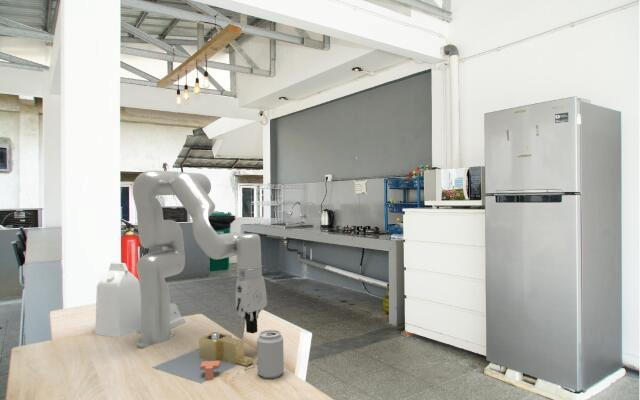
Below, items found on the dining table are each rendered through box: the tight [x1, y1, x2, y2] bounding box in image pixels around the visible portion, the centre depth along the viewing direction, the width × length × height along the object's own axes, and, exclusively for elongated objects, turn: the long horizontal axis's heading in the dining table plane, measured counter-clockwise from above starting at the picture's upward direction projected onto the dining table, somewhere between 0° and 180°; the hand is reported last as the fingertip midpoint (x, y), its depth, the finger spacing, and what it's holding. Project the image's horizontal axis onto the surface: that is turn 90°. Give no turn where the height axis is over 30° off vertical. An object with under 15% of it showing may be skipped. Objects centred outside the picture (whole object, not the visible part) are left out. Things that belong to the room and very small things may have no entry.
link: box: [198, 331, 255, 366], centre depth 133 cm, size 18×7×6 cm, turn 58°
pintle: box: [210, 331, 220, 341], centre depth 136 cm, size 2×2×8 cm
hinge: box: [170, 302, 186, 330], centre depth 170 cm, size 17×5×10 cm, turn 160°
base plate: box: [152, 348, 240, 384], centre depth 130 cm, size 20×19×2 cm
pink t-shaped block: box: [200, 361, 220, 381], centre depth 122 cm, size 5×5×5 cm
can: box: [256, 329, 285, 379], centre depth 126 cm, size 8×8×12 cm
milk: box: [94, 262, 141, 339], centre depth 166 cm, size 12×12×26 cm
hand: (251, 332), depth 137 cm, fingers closed
